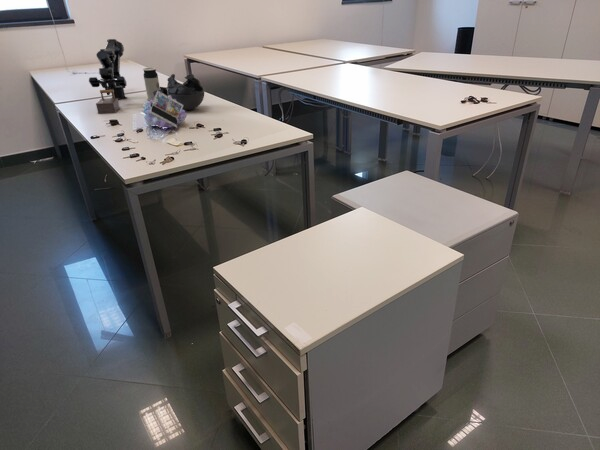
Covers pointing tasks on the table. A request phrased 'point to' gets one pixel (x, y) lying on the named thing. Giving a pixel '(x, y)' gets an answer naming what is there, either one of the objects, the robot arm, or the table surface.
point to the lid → (106, 100)
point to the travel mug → (151, 82)
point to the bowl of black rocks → (186, 91)
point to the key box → (108, 108)
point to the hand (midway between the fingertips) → (108, 94)
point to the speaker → (162, 89)
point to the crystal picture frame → (163, 111)
